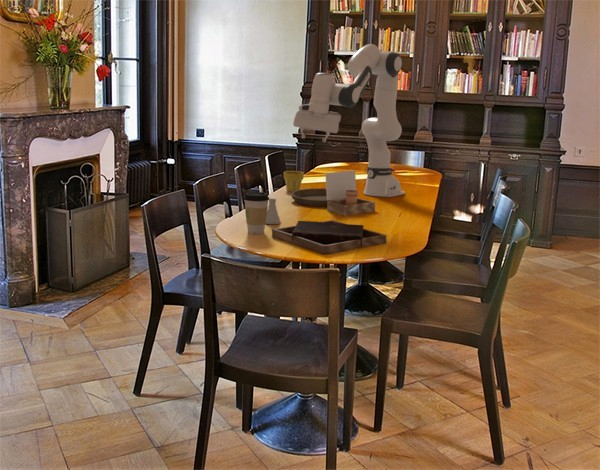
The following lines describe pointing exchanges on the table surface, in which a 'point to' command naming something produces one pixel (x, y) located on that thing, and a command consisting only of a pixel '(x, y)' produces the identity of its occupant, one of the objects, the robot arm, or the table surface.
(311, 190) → the plant saucer
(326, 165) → the table surface
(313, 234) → the diary
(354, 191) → the pot
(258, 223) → the coffee cup
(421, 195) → the table surface
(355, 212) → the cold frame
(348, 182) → the upright grey panel
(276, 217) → the flask
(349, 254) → the table surface
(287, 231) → the desk tray
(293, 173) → the plant pot
